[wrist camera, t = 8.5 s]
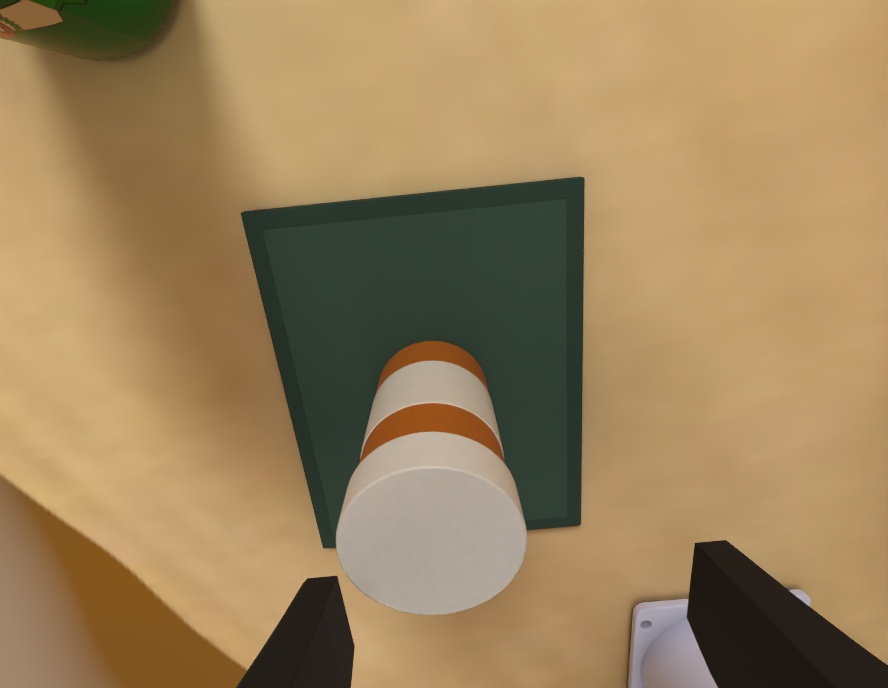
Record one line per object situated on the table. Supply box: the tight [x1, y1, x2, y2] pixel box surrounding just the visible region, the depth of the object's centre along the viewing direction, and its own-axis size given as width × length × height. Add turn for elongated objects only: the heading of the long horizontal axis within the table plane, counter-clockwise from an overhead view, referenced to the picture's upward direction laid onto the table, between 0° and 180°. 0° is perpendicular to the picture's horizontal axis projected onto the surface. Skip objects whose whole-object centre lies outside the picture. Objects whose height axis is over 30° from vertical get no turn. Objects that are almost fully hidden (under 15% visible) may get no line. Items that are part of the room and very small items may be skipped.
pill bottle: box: [336, 341, 527, 615], centre depth 14 cm, size 4×4×8 cm
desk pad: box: [241, 177, 584, 548], centre depth 18 cm, size 14×11×1 cm
